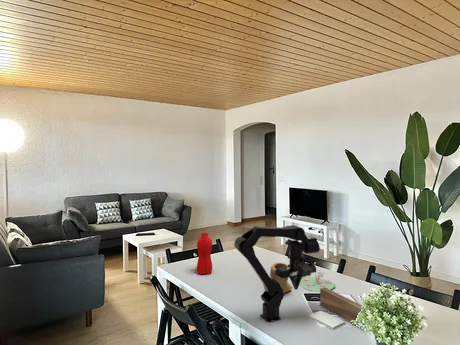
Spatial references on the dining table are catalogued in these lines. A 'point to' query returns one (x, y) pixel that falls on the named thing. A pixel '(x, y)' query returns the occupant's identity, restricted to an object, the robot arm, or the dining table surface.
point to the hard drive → (327, 320)
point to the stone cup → (282, 281)
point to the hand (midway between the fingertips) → (295, 289)
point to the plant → (315, 283)
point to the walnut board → (339, 304)
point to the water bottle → (204, 254)
